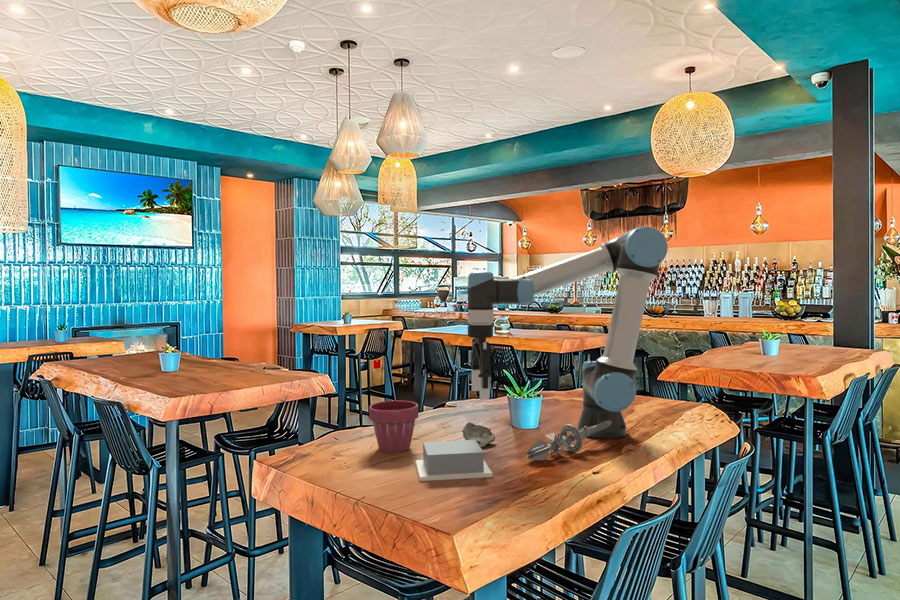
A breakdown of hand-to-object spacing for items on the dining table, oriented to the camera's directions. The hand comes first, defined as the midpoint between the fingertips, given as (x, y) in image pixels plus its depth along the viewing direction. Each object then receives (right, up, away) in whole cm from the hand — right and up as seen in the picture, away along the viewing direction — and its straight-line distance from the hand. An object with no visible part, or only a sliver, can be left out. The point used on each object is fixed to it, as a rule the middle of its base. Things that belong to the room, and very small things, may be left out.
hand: (480, 395), depth 175 cm
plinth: (-8, -15, -24) cm, 30 cm away
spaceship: (+26, -15, -9) cm, 31 cm away
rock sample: (0, -15, 0) cm, 15 cm away
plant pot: (-25, -15, -3) cm, 30 cm away
